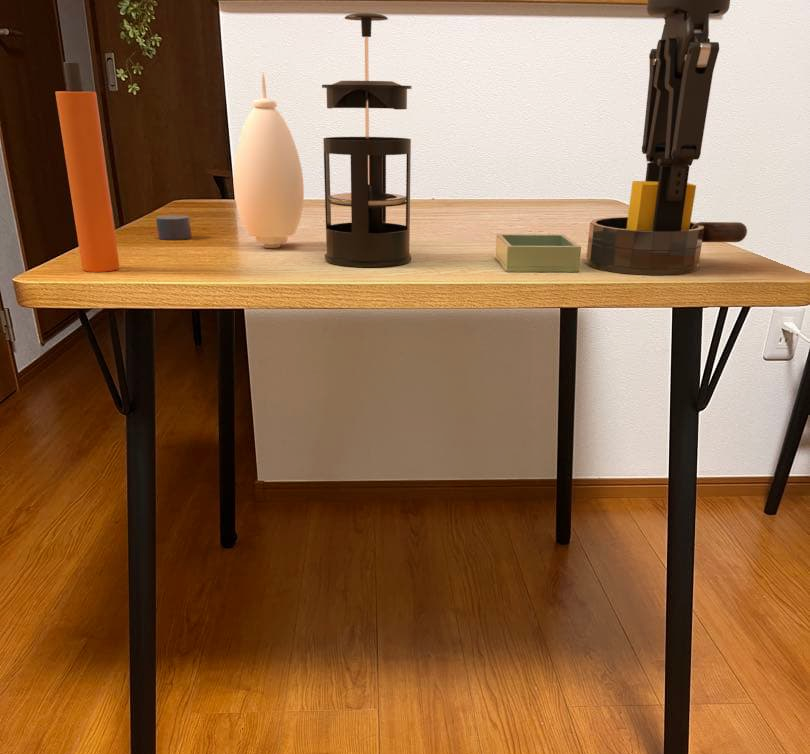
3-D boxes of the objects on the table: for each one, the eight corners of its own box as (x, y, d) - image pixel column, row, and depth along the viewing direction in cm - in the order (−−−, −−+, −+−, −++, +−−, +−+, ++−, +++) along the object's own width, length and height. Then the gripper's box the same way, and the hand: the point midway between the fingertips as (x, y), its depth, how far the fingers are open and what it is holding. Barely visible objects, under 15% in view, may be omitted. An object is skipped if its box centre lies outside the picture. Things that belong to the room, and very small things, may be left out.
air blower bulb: (309, 242, 106) (303, 73, 98) (301, 252, 99) (293, 72, 91) (245, 241, 106) (233, 72, 98) (232, 251, 99) (218, 71, 91)
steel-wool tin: (198, 237, 108) (196, 216, 107) (172, 241, 106) (170, 220, 104) (177, 234, 111) (175, 214, 109) (151, 237, 108) (149, 217, 107)
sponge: (675, 242, 94) (684, 182, 92) (686, 247, 91) (696, 185, 88) (624, 241, 94) (632, 180, 91) (634, 246, 91) (642, 184, 88)
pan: (600, 275, 89) (605, 231, 87) (576, 255, 99) (579, 216, 97) (713, 275, 89) (720, 232, 87) (677, 256, 99) (683, 217, 97)
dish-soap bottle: (122, 265, 91) (95, 63, 82) (116, 271, 87) (87, 62, 79) (86, 265, 90) (55, 62, 82) (79, 272, 87) (46, 61, 79)
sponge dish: (578, 272, 90) (581, 246, 89) (506, 271, 90) (507, 246, 88) (562, 258, 97) (564, 234, 96) (495, 257, 97) (496, 234, 96)
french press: (403, 270, 90) (406, 8, 79) (314, 266, 91) (305, 8, 80) (418, 252, 100) (422, 18, 90) (338, 249, 101) (333, 18, 91)
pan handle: (692, 243, 92) (695, 223, 91) (685, 240, 94) (688, 220, 93) (748, 243, 92) (751, 223, 91) (740, 240, 94) (744, 221, 93)
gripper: (628, -23, 89) (604, 221, 99) (682, -47, 74) (647, 243, 84) (701, -22, 89) (670, 221, 100) (769, -47, 74) (724, 243, 84)
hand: (659, 231), depth 92 cm, fingers closed on sponge, 4 cm apart
